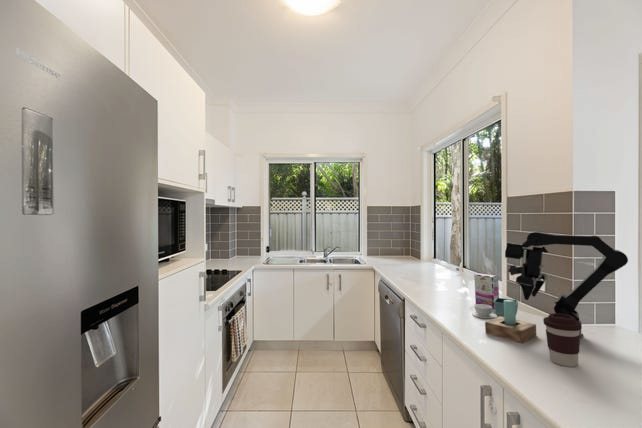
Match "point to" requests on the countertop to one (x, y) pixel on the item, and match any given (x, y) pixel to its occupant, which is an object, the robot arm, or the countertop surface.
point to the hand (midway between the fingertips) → (530, 298)
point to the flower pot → (502, 306)
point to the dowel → (509, 313)
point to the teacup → (483, 311)
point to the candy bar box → (486, 289)
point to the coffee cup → (563, 338)
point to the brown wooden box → (511, 329)
